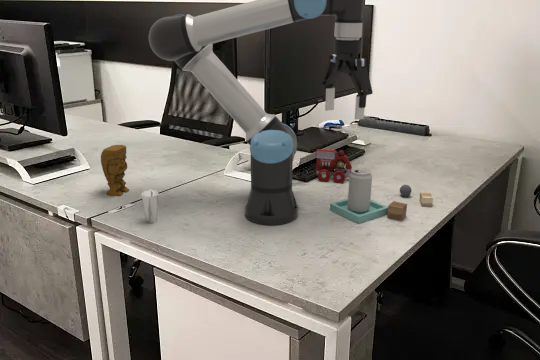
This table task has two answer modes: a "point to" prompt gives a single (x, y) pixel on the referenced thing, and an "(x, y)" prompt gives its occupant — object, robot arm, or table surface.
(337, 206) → the tray
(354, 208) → the beverage can
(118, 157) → the figurine
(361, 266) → the table surface
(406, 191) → the black rubber ball
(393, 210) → the walnut block
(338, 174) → the toy fire truck
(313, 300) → the table surface
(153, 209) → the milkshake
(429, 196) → the beech block
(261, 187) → the robot arm
